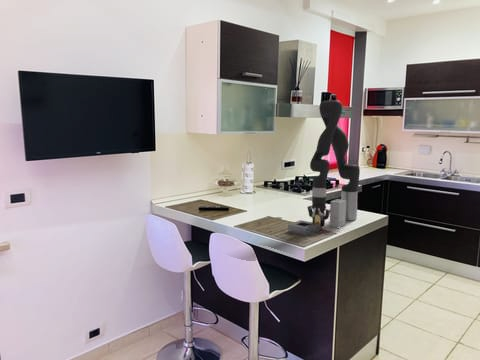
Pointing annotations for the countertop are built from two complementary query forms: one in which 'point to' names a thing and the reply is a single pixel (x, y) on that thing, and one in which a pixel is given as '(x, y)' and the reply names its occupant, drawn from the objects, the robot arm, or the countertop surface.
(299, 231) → the collar
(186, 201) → the countertop surface
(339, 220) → the skincare box
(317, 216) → the piston
